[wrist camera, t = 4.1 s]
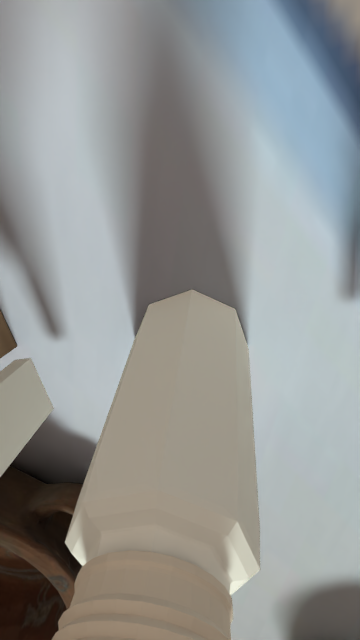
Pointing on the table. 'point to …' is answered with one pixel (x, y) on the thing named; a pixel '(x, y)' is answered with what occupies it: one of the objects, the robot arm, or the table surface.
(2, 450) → the robot arm
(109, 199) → the table surface
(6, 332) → the display riser
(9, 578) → the dish
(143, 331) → the pepper shaker
